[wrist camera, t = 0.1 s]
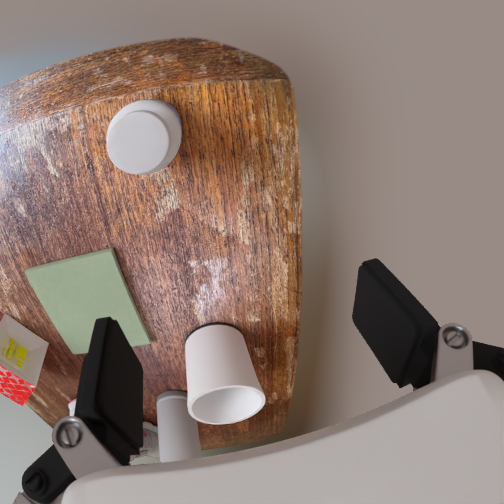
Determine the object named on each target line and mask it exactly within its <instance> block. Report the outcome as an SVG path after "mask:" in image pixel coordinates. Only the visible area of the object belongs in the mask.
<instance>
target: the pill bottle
mask: <svg viewBox="0 0 504 504" xmlns="http://www.w3.org/2000/svg"><path fill="white" fill-rule="evenodd" d="M181 135H182V123H181V119H180V116H179V114H178V112H177V111H176V109H175V108H174V107H173V106H172V105H170V104H169V103H167V102H165V101H162V100H159V99H151V100H141V101H136V102H133V103H130V104H128V105H127V106H125V107H123V108H122V109H121V110H120V111H119V112H118V113H117V114H116V115H115V116H114V118H113V119H112V121H111V123H110V125H109V127H108V131H107V151H108V155H109V157H110V159H111V161H112V162H113V164H114V165H115V166H116V167H117V168H119V169H120V170H122V171H124V172H126V173H130V174H139V175H144V174H151V173H154V172H157V171H159V170H161V169H163V168H164V167H166V166H167V165H168V164H169V163H170V162H171V161H172V160H173V158H174V157H175V156H176V154H177V152H178V150H179V147H180V143H181Z"/></svg>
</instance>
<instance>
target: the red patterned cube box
mask: <svg viewBox="0 0 504 504" xmlns="http://www.w3.org/2000/svg"><path fill="white" fill-rule="evenodd" d="M48 345H49V343H48V342H46V341H45V340H43V339H42V338H40V337H39V336H37V335H36V334H34V333H33V332H31V331H30V330H28V329H27V328H25V327H24V326H23V325H21V324H20V323H18V322H17V321H16V320H14V319H13V318H11V317H10V316H9V315H7V314H6V313H4V315H3V317H2V319H1V321H0V393H1V394H3V395H5V396H6V397H8V398H10V399H11V400H13V401H15V402H17V403H18V404H20V405H22V406H23V405H24V403H25V402H26V401H27V399H28V398H29V396H30V395H31V393H32V392H33V391H34V389H35V388H36V385H37V382H38V378H39V374H40V371H41V367H42V364H43V361H44V358H45V354H46V351H47V348H48Z"/></svg>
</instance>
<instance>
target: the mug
mask: <svg viewBox="0 0 504 504" xmlns="http://www.w3.org/2000/svg"><path fill="white" fill-rule="evenodd" d="M185 356H186V372H187V386H188V398H187V407H188V412H189V414H190V415H191V416H192V417H193V418H194V419H196V420H198V421H200V422H203V423H208V424H229V423H234V422H238V421H242V420H244V419H247V418H249V417H251V416H253V415H254V414H256V413H257V412H258V411H259V410H261V409H262V407H263V406H264V404H265V396H264V393H263V391H262V388H261V386H260V384H259V382H258V379H257V377H256V374H255V371H254V368H253V365H252V362H251V359H250V356H249V353H248V350H247V346H246V343H245V340H244V337H243V334H242V333H241V332H240V331H239V329H237V328H235V327H234V326H232V325H229V324H226V323H218V322H217V323H209V324H205V325H202V326H200V327H198V328H196V329H195V330H193V331H192V332H191V333H190V334H189V336H188V337H187V339H186V342H185Z"/></svg>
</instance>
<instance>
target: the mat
mask: <svg viewBox="0 0 504 504" xmlns="http://www.w3.org/2000/svg"><path fill="white" fill-rule="evenodd" d="M25 274H26V276H27V278H28V280H29V282H30V284H31V285H32V287H33V289H34V291H35V293H36V295H37V297H38V298H39V300H40V302H41V304H42V305H43V307H44V309H45V311H46V312H47V314H48V316H49V317H50V319H51V321H52V322H53V324H54V326H55V327H56V329H57V330H58V332H59V334H60V335H61V337H62V338H63V340H64V341H65V343H66V344H67V346H68V347H69V349H70V350H71V352H72V353H73V354H82V353H88V350H89V345H90V341H91V337H92V332H93V328H94V324H95V321H96V319H98V318H104V317H111V318H112V319H113V320H117V321H118V323H119V325H120V327H121V329H122V331H123V332H124V334H125V336H126V338H127V340H128V342H129V344H130V346H131V347H132V346H138V345H145V344H150V343H151V339H150V337H149V335H148V332H147V330H146V328H145V326H144V324H143V322H142V319H141V317H140V315H139V313H138V310H137V308H136V306H135V303H134V301H133V299H132V296H131V294H130V292H129V289H128V287H127V284H126V282H125V279H124V277H123V274H122V272H121V269H120V266H119V264H118V261H117V258H116V256H115V253H114V250H113V248H109V249H105V250H100V251H96V252H92V253H88V254H84V255H79V256H75V257H71V258H67V259H63V260H59V261H55V262H51V263H47V264H43V265H39V266H36V267H32V268H28V269H27V270H26V271H25Z"/></svg>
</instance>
